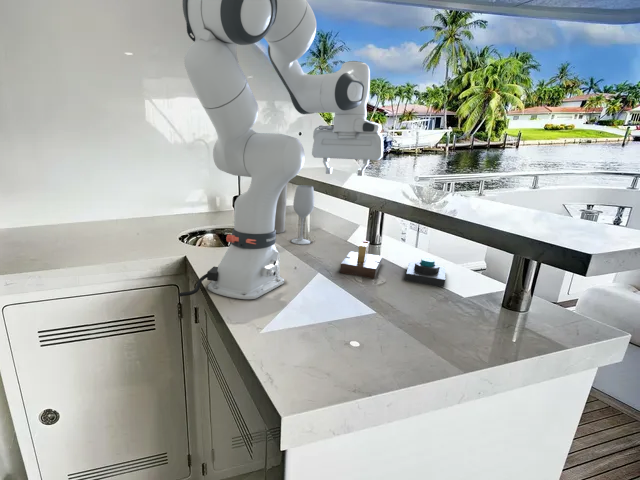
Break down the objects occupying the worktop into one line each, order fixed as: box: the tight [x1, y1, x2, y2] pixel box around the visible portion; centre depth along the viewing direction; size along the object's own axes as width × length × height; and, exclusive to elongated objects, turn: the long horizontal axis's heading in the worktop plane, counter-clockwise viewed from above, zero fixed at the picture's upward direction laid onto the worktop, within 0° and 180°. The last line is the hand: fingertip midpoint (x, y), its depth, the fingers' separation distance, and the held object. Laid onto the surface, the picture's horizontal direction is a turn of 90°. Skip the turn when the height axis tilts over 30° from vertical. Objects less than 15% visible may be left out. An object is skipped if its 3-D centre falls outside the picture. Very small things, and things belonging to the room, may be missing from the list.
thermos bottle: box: [274, 183, 288, 234], centre depth 156 cm, size 8×8×28 cm
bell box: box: [404, 260, 446, 288], centre depth 111 cm, size 12×10×4 cm
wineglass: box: [291, 184, 315, 245], centre depth 142 cm, size 8×8×21 cm
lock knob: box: [357, 240, 370, 263], centre depth 116 cm, size 6×2×5 cm, turn 153°
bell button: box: [420, 257, 436, 267], centre depth 110 cm, size 4×4×2 cm
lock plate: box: [339, 251, 383, 279], centre depth 117 cm, size 14×10×3 cm
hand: (344, 174), depth 114 cm, fingers open, 8 cm apart
